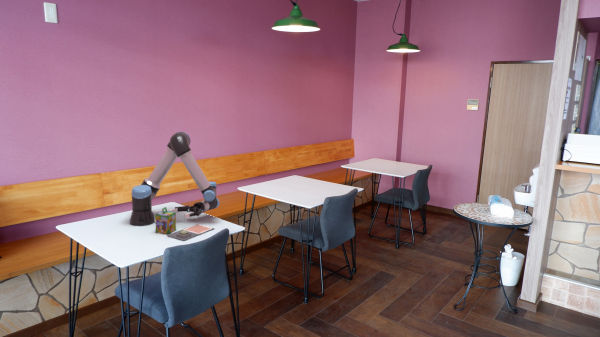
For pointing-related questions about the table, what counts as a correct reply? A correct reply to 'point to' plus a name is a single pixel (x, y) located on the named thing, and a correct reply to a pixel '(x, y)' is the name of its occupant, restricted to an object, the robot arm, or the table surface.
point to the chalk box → (165, 221)
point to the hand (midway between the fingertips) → (177, 214)
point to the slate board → (191, 232)
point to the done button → (183, 232)
